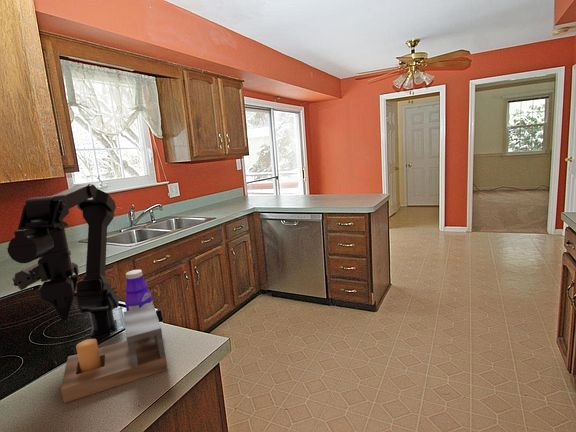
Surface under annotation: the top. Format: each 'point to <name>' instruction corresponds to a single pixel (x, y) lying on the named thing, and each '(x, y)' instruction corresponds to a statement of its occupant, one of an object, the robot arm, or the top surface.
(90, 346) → the peg
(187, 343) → the top surface
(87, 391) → the socket block
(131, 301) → the bottle
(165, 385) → the top surface
